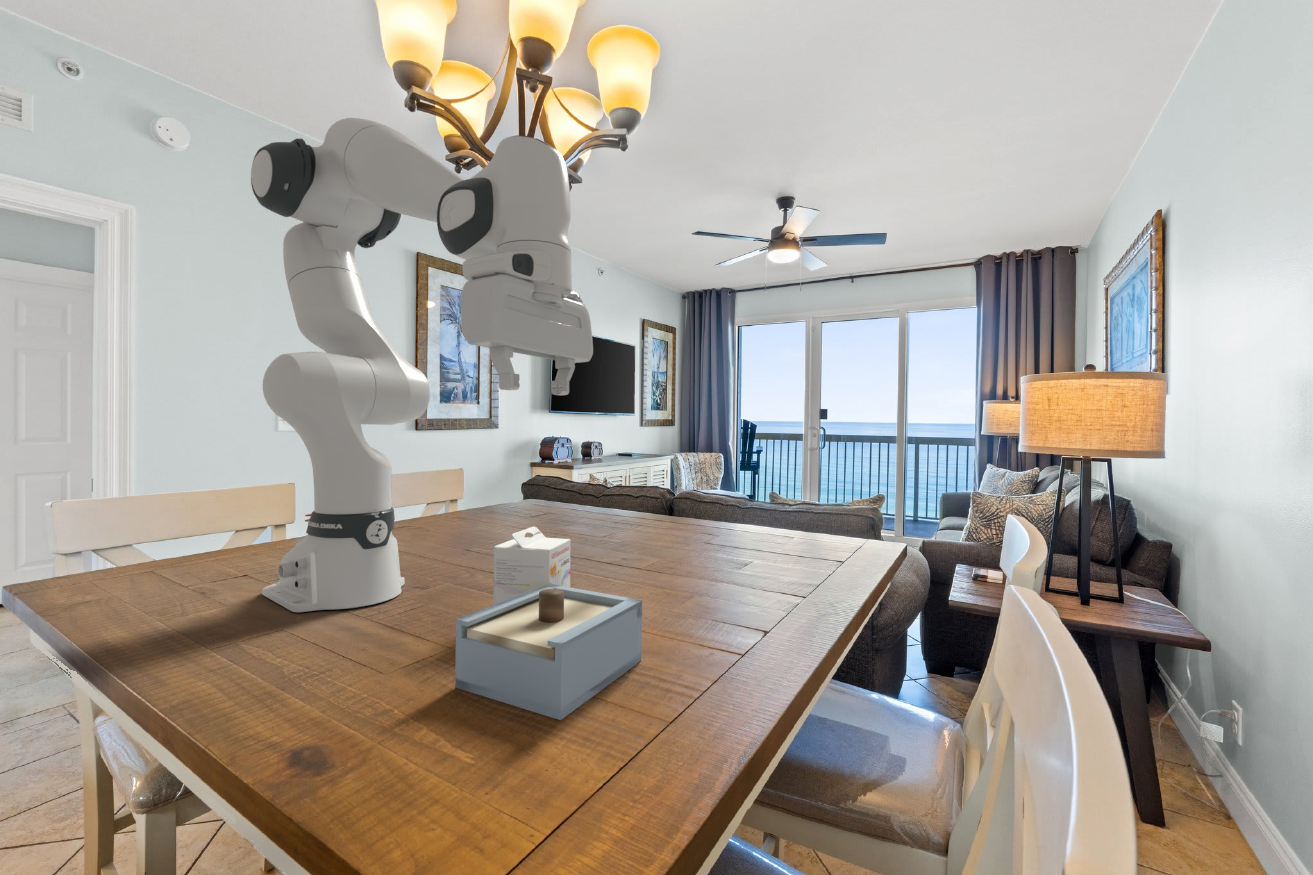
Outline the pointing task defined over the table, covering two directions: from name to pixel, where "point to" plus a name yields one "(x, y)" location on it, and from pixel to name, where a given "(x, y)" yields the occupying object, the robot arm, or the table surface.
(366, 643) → the table surface
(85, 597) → the table surface
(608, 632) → the box
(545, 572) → the ink box
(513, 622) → the lid
